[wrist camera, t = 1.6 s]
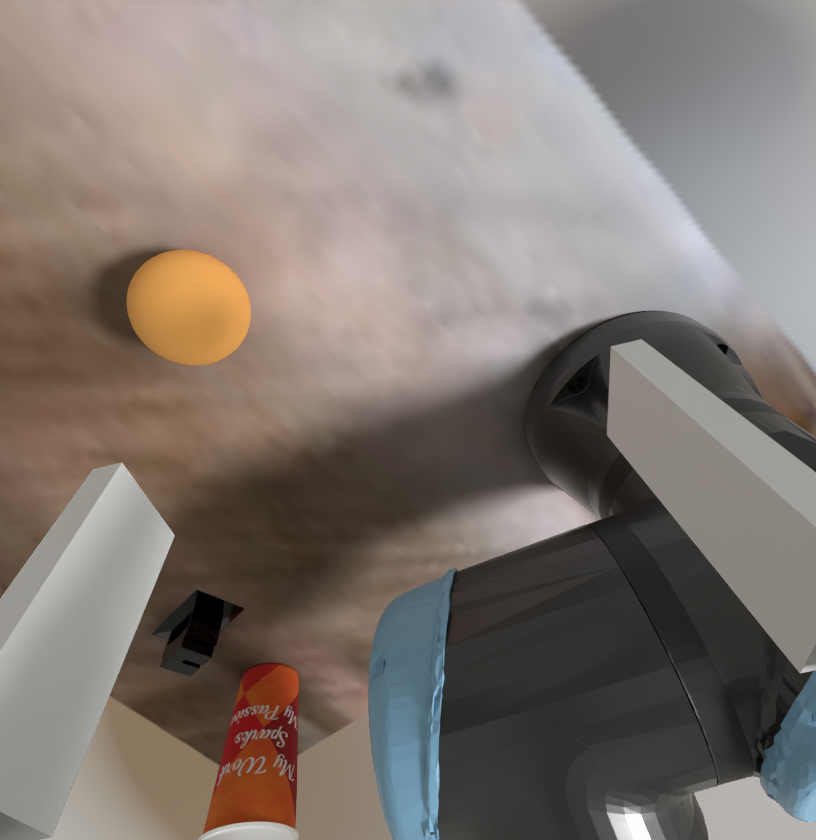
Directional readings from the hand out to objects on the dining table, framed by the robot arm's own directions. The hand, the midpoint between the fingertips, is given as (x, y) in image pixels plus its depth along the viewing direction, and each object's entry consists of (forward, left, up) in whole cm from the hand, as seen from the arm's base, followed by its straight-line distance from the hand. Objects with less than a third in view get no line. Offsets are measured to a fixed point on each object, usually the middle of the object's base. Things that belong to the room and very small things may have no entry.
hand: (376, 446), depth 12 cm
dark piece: (+23, +29, -19) cm, 42 cm away
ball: (+9, 0, -15) cm, 18 cm away
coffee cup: (+20, +41, -19) cm, 49 cm away
